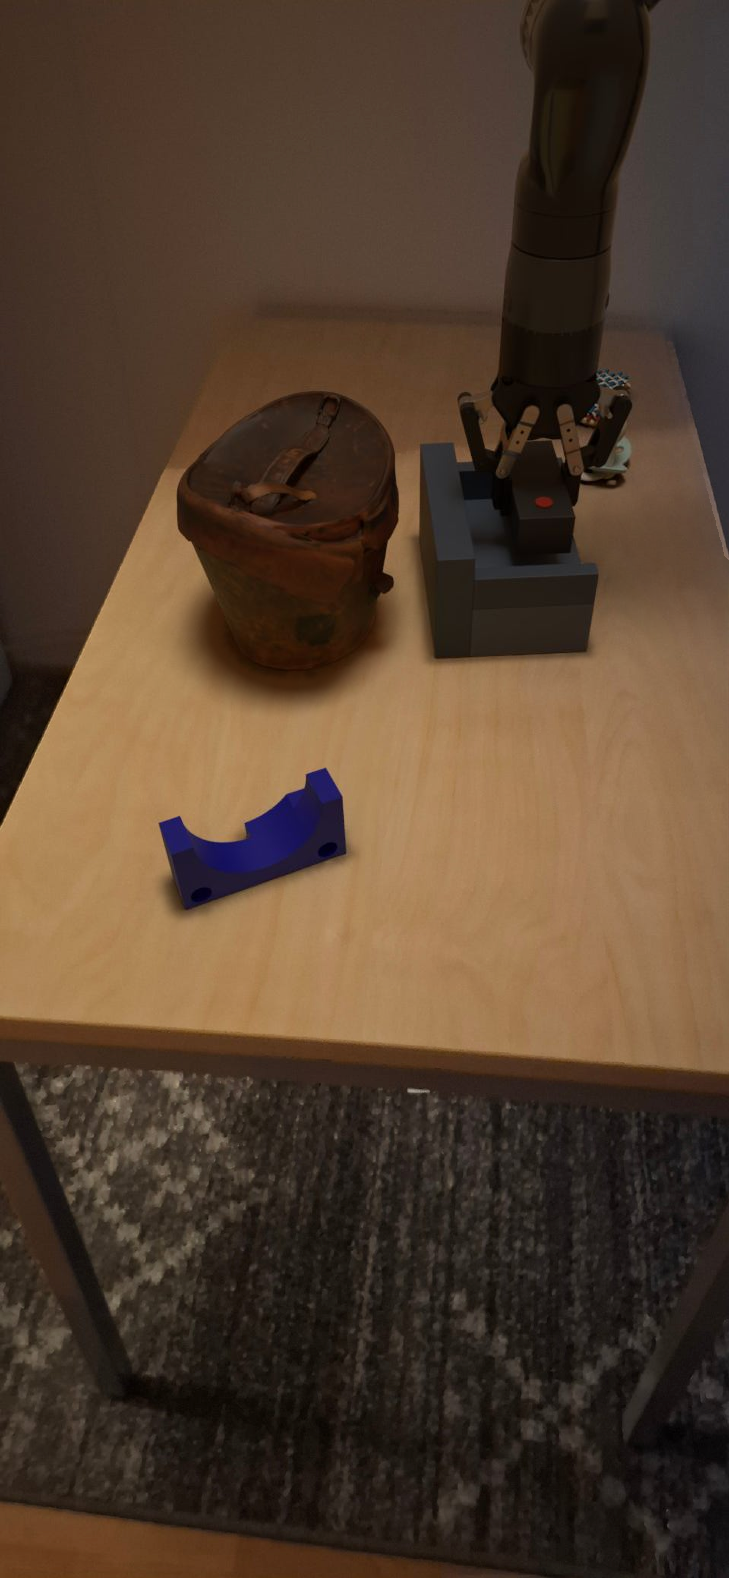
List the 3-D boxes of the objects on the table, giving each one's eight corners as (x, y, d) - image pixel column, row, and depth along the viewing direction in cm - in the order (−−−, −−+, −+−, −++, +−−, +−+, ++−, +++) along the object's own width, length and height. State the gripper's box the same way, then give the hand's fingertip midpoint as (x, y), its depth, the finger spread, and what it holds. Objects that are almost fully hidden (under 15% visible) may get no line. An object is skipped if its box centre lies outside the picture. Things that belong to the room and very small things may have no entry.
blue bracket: (322, 810, 77) (317, 753, 73) (346, 852, 75) (342, 796, 70) (167, 863, 74) (152, 807, 70) (185, 909, 72) (171, 854, 67)
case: (205, 717, 85) (168, 527, 72) (194, 573, 98) (161, 391, 85) (421, 689, 86) (424, 498, 73) (380, 552, 100) (377, 370, 87)
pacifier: (563, 485, 107) (622, 491, 106) (568, 428, 102) (630, 434, 101) (574, 450, 112) (631, 455, 110) (580, 394, 107) (639, 399, 106)
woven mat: (511, 411, 118) (513, 394, 116) (547, 372, 124) (549, 355, 122) (600, 431, 114) (602, 414, 112) (632, 390, 120) (635, 373, 119)
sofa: (552, 532, 101) (564, 437, 94) (586, 651, 89) (602, 552, 82) (419, 538, 101) (420, 443, 94) (434, 658, 89) (437, 560, 82)
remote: (547, 475, 93) (552, 437, 91) (570, 553, 85) (576, 514, 83) (497, 478, 93) (500, 440, 91) (515, 556, 85) (519, 516, 83)
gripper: (640, 281, 79) (607, 483, 92) (452, 289, 79) (445, 489, 92) (663, 324, 74) (625, 531, 86) (462, 332, 74) (453, 538, 86)
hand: (532, 508), depth 89 cm, fingers closed on remote, 4 cm apart
